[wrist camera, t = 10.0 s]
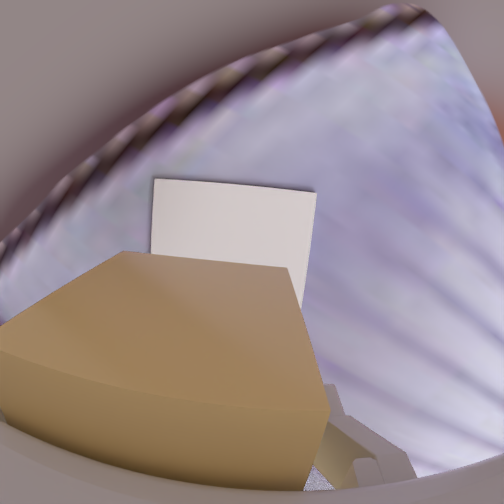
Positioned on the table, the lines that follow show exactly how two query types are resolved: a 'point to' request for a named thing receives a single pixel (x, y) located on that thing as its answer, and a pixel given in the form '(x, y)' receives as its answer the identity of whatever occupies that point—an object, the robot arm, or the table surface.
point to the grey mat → (234, 225)
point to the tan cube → (171, 372)
